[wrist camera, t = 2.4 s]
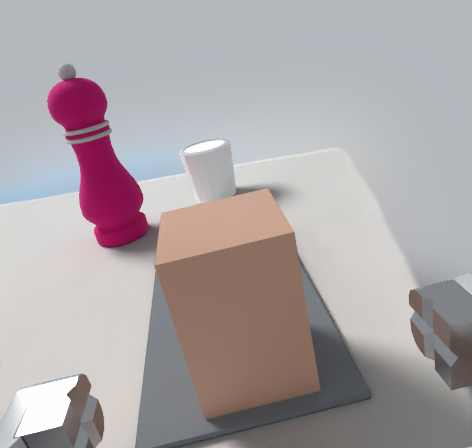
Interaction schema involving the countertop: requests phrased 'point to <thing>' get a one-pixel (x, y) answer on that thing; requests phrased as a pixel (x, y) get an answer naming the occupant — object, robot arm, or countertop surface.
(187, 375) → the mat
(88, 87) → the pepper mill
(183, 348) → the tan rectangular block
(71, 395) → the robot arm
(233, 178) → the white cup
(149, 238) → the countertop surface
